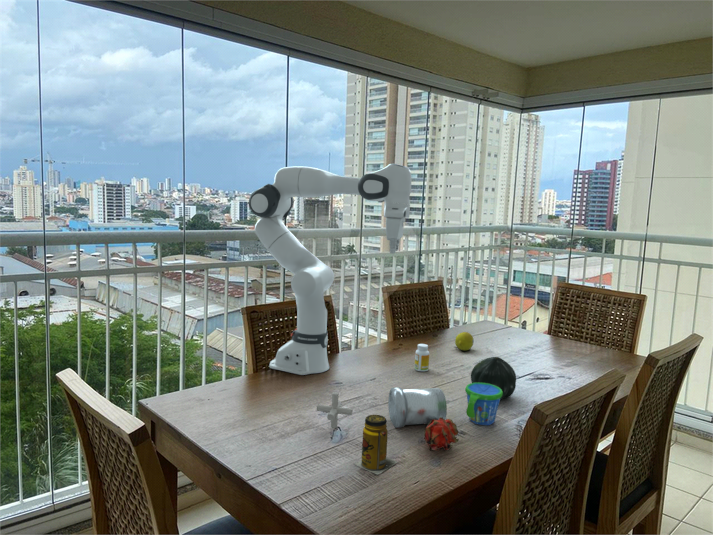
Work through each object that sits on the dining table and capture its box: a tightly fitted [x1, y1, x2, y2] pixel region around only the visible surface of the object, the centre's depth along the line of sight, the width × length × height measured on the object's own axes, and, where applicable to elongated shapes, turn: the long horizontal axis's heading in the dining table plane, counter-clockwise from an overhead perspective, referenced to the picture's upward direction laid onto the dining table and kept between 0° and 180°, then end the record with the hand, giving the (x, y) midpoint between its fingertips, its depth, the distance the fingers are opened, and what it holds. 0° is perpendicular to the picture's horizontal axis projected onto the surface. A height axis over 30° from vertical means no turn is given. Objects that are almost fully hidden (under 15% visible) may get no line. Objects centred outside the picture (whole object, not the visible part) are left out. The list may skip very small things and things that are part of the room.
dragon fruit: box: [423, 417, 460, 452], centre depth 139 cm, size 8×8×12 cm
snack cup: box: [464, 382, 503, 426], centre depth 157 cm, size 16×10×10 cm
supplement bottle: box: [414, 343, 430, 372], centre depth 202 cm, size 5×5×10 cm
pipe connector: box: [316, 391, 354, 429], centre depth 148 cm, size 10×10×10 cm
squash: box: [470, 356, 517, 401], centre depth 178 cm, size 14×15×15 cm
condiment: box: [354, 414, 398, 476], centre depth 128 cm, size 7×8×12 cm
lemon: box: [454, 331, 474, 352], centre depth 232 cm, size 11×8×8 cm
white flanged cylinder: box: [387, 387, 448, 429], centre depth 153 cm, size 14×13×11 cm
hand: (394, 252), depth 182 cm, fingers open, 8 cm apart
